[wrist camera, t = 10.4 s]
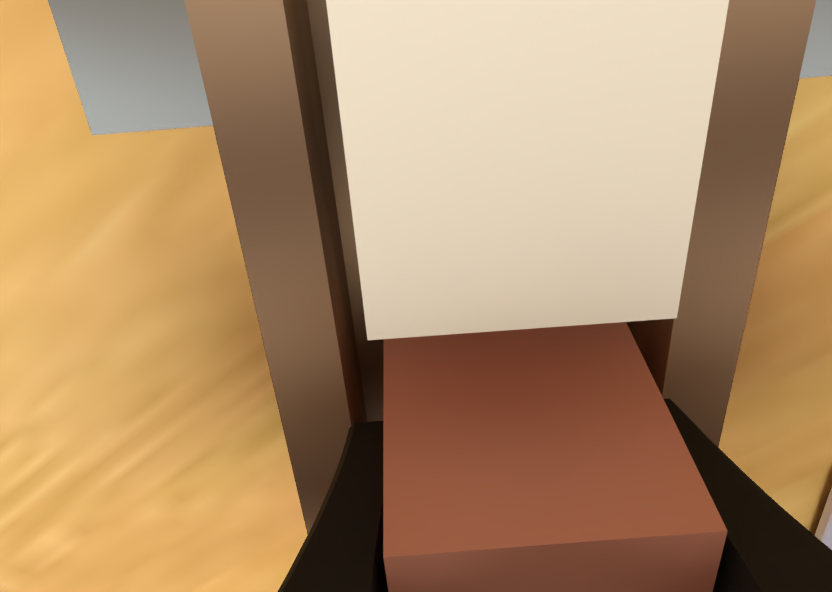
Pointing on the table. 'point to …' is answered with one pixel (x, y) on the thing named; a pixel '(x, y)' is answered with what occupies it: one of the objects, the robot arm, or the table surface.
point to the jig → (330, 199)
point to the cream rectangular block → (522, 157)
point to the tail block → (538, 468)
